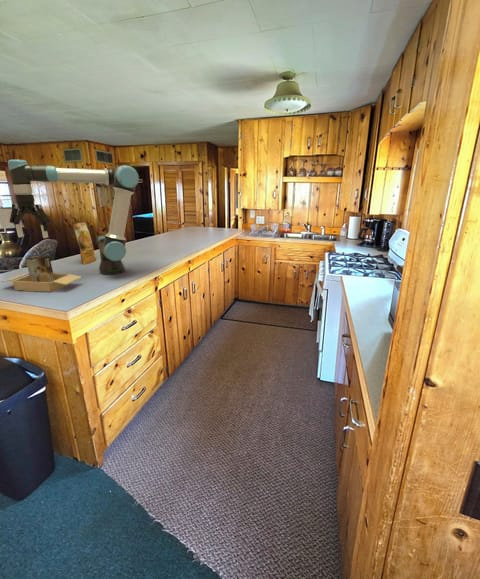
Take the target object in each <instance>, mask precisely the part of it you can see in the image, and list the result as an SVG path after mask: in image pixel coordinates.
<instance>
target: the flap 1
mask: <svg viewBox="0 0 480 579" xmlns="http://www.w3.org/2000/svg"><path fill="white" fill-rule="evenodd" d="M26 276H29V272H27V273H22V274H19V275H16V276H13V277H10V278H6V279H4V280H2V281H0V283H5V282H6V283H7V282H13V281H15V280H18V279H20V278H23V277H26Z"/></svg>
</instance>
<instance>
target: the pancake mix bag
mask: <svg viewBox="0 0 480 579" xmlns="http://www.w3.org/2000/svg"><path fill="white" fill-rule="evenodd" d="M72 227H73V232H74V235H75V239H76V242H77V244H78V247H79V253H80V258H81V259H80V260H81V265H88V264H90V263H93V262H95V261H97V258H96V255H95V250H94V244H93V241H92V236H91V234H90V230H89V228H88V226H87V223H86V221H83V222H78V223H74V224H73V226H72Z"/></svg>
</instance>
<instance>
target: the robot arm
mask: <svg viewBox="0 0 480 579" xmlns="http://www.w3.org/2000/svg"><path fill="white" fill-rule="evenodd" d="M7 166H8V171H9V176H10V180H11V184H12V189H13V192H14V194H15V195H14V198H15V201H16V203H12V204H11V208H12V209H11V212H10V218H9V223H10V224H13V225H14V228H15V231H16V233H17V237H18V238H23V237H25V235H24V231H23V226H22V224H21V223H20V222H21V221H22V219H23V217H24V215H25V214H28V215H30V214H31V215H32V216H33V217H35V218H36V220H37V221H38V222H39V223H40V229H41V233H42V238H43V239H47V238H49V234H48V231H49V228H48V227H49V226H48V224H51V220H50V219H49V216H48V215H47V214H46V212H45V211H44V209H43V207H42V205H41V204H40V203H38V204H35V201H36V200H35V196H34V194H33V193H34V191H33V187H32V183H31V182H41V183H72V184H73V183H76V184H77V183H78V184H81V183H82V184H105V185H106V186H112V188H113V190H114V196H113V202H112V207H111V208H112V210H111V215H110V221H109V228H108V232H107V233H106V234H105V235H100V236H98V237H97V243H98V248H99V249H98V250H99V255H100V256H99V257H100V263H99V269H98V272H99V274H101V275H117V274H121V273H124V272H125V271H126V270H125V265H124V263H123V261H122V259H123V258H125V257H126V254H127V247H126V243H127V239H126V237H125V233H126V226H127V223H128V222H127V220H128V215H129V210H130V209H129V208H130V204H131V199H132V198H131V197H132V195H135V192H136V191H135V190H136V186H137V185H138V183H139V180H140V179H139V178H140V176H139V174H138V171H137V170H136V169H135V168H134V167H132V166H130V165H126V164H124V165H119V166H116V167H105V168H104V169H96V168H95V169H93V168H92V169H91V168H74V167H73V168H72V167H56V166H54V165H53V166H52V165H48V164H47V165H36V164H35V165H32V164H28V162H27V160H24V159H9V160H8V161H7Z"/></svg>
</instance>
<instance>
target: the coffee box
mask: <svg viewBox="0 0 480 579" xmlns="http://www.w3.org/2000/svg"><path fill="white" fill-rule="evenodd" d="M25 263H26V267H27V271H28V273H29V275H30V279H31V282H52V281H55V279H54V275H53V273H54V271H53V267H52V262H51V258H50V255H46V254H40V255H36V256H35V255H34V256H29V257H25ZM29 275H28V276H29Z"/></svg>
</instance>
